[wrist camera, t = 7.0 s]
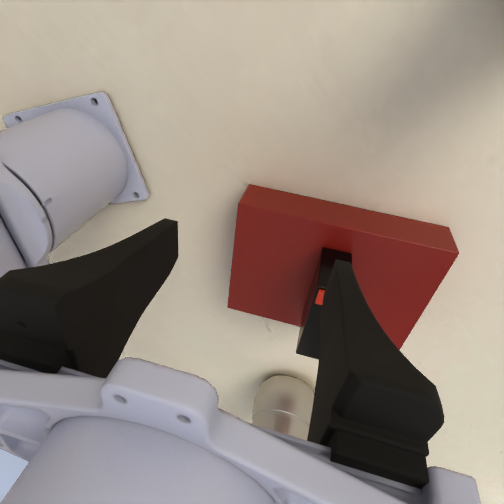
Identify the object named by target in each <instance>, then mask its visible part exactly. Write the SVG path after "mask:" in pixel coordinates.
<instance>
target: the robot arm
mask: <svg viewBox="0 0 504 504" xmlns="http://www.w3.org/2000/svg"><path fill="white" fill-rule="evenodd" d="M94 98H95V99H96V100H97V101H98V104H96V102H95V101H94ZM19 117H20V118H21V120H22V121H21V120H20V118H19ZM3 121H4V123H5V125H6V126H7V129H5V130H2V131H0V449H2V450H5V451H7V452H9V453H11V454H13V455H16V456H18V457H20V458H22V459H24V460H26V461H29V463H28V465H27V466H26V468H25V469H24V471H23V472H22V473H21V475H20V476H19V478H18V479H17V481H16V482H15V483H14V485H13V486H12V488H11V489H10V490H9V492H8V493H7V495H6V496H5V498H4V499H3V501H2V502H1V503H0V504H481V501H480V497H479V493H478V489H477V485H476V481H475V479H474V478H473V477H471V476H468V475H465V474H461V473H458V472H455V471H451V470H448V469H445V468H441V467H428V468H427V464H426V457H427V456H428V455H429V449H428V443H427V442H428V441H429V440H430V439H431V438H432V437H433V435H434V434H435V433H436V432H437V431H438V430H439V429H440V428H441V426H442V425H443V423H444V414H443V409H442V404H441V401H440V398H439V395H438V392H437V389H436V386H435V385H434V384H433V383H432V382H431V381H429V380H428V379H427V378H426V377H425V376H424V375H423V374H422V373H421V372H420V371H418V370H417V369H416V368H415V367H414V366H413V365H412V364H411V363H410V361H409V360H408V359H407V358H406V357H405V356H404V355H403V354H402V353H401V352H400V351H399V349H398V348H397V347H396V346H395V345H394V343H393V342H392V341H391V340H390V338H389V337H388V336H387V335H386V333H385V332H384V330H383V329H382V327H381V326H380V324H379V323H378V321H377V320H376V318H375V316H374V315H373V313H372V311H371V309H370V307H369V306H368V304H367V302H366V300H365V297H364V295H363V293H362V291H361V289H360V286H359V284H358V282H357V279H356V276H355V274H354V271H353V268H352V265H351V263H350V262H345V261H341V260H337V259H336V260H335V263H334V266H333V269H332V271H331V274H330V277H329V280H328V283H327V286H326V289H325V292H324V297H323V303H322V309H321V321H320V350H319V366H318V373H317V380H316V387H315V394H314V400H313V407H312V413H311V419H310V425H309V431H308V437H307V441H306V440H303V439H300V438H297V437H293V436H290V435H287V434H283V433H280V432H277V431H274V430H270V429H267V428H264V427H260V426H257V425H254V424H250V423H247V422H245V421H243V420H241V419H239V418H237V417H235V416H233V415H231V414H229V413H228V412H226V411H224V410H222V409H220V408H218V399H219V398H218V395H217V392H216V389H215V388H214V387H213V386H212V385H211V384H210V383H209V382H208V381H207V380H205V379H203V378H200V377H198V376H196V375H193V374H190V373H186V372H183V371H180V370H176V369H173V368H169V367H166V366H163V365H159V364H156V363H152V362H149V361H145V360H142V359H138V358H130V357H127V358H123V359H121V360H118V359H119V357H120V355H121V353H122V351H123V349H124V347H125V345H126V343H127V341H128V339H129V337H130V335H131V333H132V331H133V330H134V328H135V326H136V324H137V322H138V320H139V319H140V317H141V315H142V314H143V312H144V310H145V309H146V307H147V306H148V305H149V303H150V302H151V300H152V299H153V297H154V296H155V295H156V293H157V292H158V290H159V289H160V287H161V286H162V285H163V283H164V282H165V280H166V279H167V277H168V276H169V274H170V272H171V270H172V269H173V267H174V265H175V262H176V260H177V258H178V221H174V220H169V219H163V220H161V221H159V222H157V223H155V224H153V225H151V226H149V227H148V228H146V229H144V230H142V231H140V232H138V233H136V234H134V235H132V236H130V237H128V238H126V239H124V240H122V241H120V242H118V243H115V244H113V245H111V246H109V247H106V248H104V249H101V250H98V251H96V252H93V253H90V254H87V255H84V256H80V257H77V258H73V259H70V260H66V261H62V262H57V263H53V264H49V261H48V255H49V254H50V253H51V252H52V251H53V250H54V249H55V248H57V247H58V246H59V245H60V244H61V243H63V242H64V241H65V240H66V239H67V238H68V237H70V236H71V235H72V234H73V233H74V232H76V231H77V230H78V229H79V228H80V227H81V226H83V225H84V224H85V223H86V222H87V221H88V220H90V219H91V218H92V217H93V216H94V215H96V214H97V213H98V212H99V211H100V210H101V209H103V208H104V207H105V206H106V205H107V204H114V203H123V202H132V201H140V200H146V199H147V198H148V197H149V191H148V188H147V186H146V184H145V181H144V179H143V177H142V174H141V172H140V169H139V167H138V165H137V162H136V160H135V158H134V155H133V153H132V150H131V148H130V146H129V143H128V141H127V139H126V136H125V134H124V131H123V129H122V127H121V124H120V122H119V120H118V117H117V115H116V113H115V110H114V108H113V105H112V103H111V101H110V98H109V96H108V95H107V94H106V93H105V92H96V93H92V94H88V95H84V96H79V97H75V98H71V99H67V100H63V101H59V102H55V103H51V104H47V105H42V106H38V107H34V108H30V109H26V110H22V111H18V112H14V113H9V114H6V115H4V116H3ZM136 193H138V194H139V196H138V195H136ZM425 456H426V457H425Z"/></svg>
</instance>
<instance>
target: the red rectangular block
mask: <svg viewBox="0 0 504 504" xmlns="http://www.w3.org/2000/svg"><path fill="white" fill-rule="evenodd" d="M322 247H326V248H330V249H335V250H339V251H343V252H347V253H351V254H352V268H353V271H354V274H355V276H356V279H357V282H358V284H359V286H360V289H361V291H362V293H363V295H364V297H365V300H366V302H367V304H368V306H369V307H370V309H371V311H372V313H373V315H374V316H375V318H376V320H377V321H378V323H379V324H380V326H381V327H382V329H383V330H384V332H385V333H386V335H387V336H388V337H389V338H390V340H391V341H392V342H393V343H394V345H395V346H396V347H397V348H398V349H399V350H400V348H401V347H402V345H403V343H404V342H405V340H406V339H407V337H408V335H409V334H410V332H411V331H412V329H413V327H414V326H415V324H416V322H417V321H418V319H419V318H420V316H421V314H422V313H423V311H424V309H425V308H426V306H427V305H428V303H429V301H430V300H431V298H432V296H433V295H434V293H435V292H436V290H437V288H438V287H439V285H440V283H441V282H442V280H443V279H444V277H445V275H446V274H447V272H448V270H449V269H450V267H451V266H452V264H453V262H454V261H455V259H456V258H457V256H458V254H459V251H458V249H457V246H456V244H455V241H454V239H453V236H452V234H451V231H450V229H449V227H444V226H440V225H435V224H430V223H426V222H421V221H417V220H412V219H407V218H403V217H398V216H394V215H389V214H384V213H380V212H375V211H371V210H366V209H361V208H357V207H352V206H347V205H343V204H338V203H334V202H329V201H324V200H320V199H315V198H311V197H306V196H301V195H297V194H292V193H288V192H283V191H278V190H274V189H269V188H264V187H260V186H255V185H251V184H249V185H248V187H247V189H246V191H245V192H244V194H243V196H242V198H241V200H240V201H239V203H238V211H237V220H236V230H235V239H234V249H233V259H232V268H231V278H230V287H229V297H228V308H231V309H235V310H239V311H242V312H246V313H250V314H254V315H258V316H262V317H265V318H269V319H273V320H277V321H281V322H285V323H288V324H292V325H296V326H300V325H301V319H302V313H303V309H304V306H305V303H306V299H307V296H308V293H309V289H310V286H311V283H312V279H313V276H314V273H315V270H316V266H317V263H318V260H319V256H320V253H321V250H322Z"/></svg>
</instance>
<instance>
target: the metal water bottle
mask: <svg viewBox="0 0 504 504" xmlns="http://www.w3.org/2000/svg"><path fill="white" fill-rule="evenodd" d="M313 400H314V393H313V391H312V389H311V388H310V387H309V386H308V385H307V384H306V383H305V382H303V381H301V380H299V379H297V378H294V377H290V376H282V375H280V376H273V377H270V378H268V379H267V380H266V381H265V382H263V383H262V384H261V385H260V387H259V389H258V391H257V393H256V396H255V398H254V405H253V418H252V419H253V423H252V424H254V425H257V426H260V427H264V428H267V429H270V430H274V431H277V432H280V433H283V434H287V435H290V436H293V437H297V438H300V439H303V440H306V441H307V437H308V431H309V425H310V419H311V413H312V407H313Z"/></svg>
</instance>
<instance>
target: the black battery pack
mask: <svg viewBox="0 0 504 504" xmlns="http://www.w3.org/2000/svg"><path fill="white" fill-rule="evenodd" d="M336 259H337V260H341V261H345V262H350V263H351V265H352V254H351V253H347V252H343V251H339V250H335V249H330V248H326V247H322V250H321V253H320V256H319V260H318V263H317V266H316V270H315V273H314V276H313V279H312V283H311V286H310V289H309V293H308V296H307V299H306V303H305V306H304V309H303V313H302V319H301V325H300V331H299V337H298V343H297V349H296V353H297V354H300V355H304V356H308V357H311V358H315V359H319V350H320V321H321V309H322V303H323V297H324V292H325V289H326V286H327V283H328V280H329V277H330V274H331V271H332V269H333V266H334V263H335V260H336Z"/></svg>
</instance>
